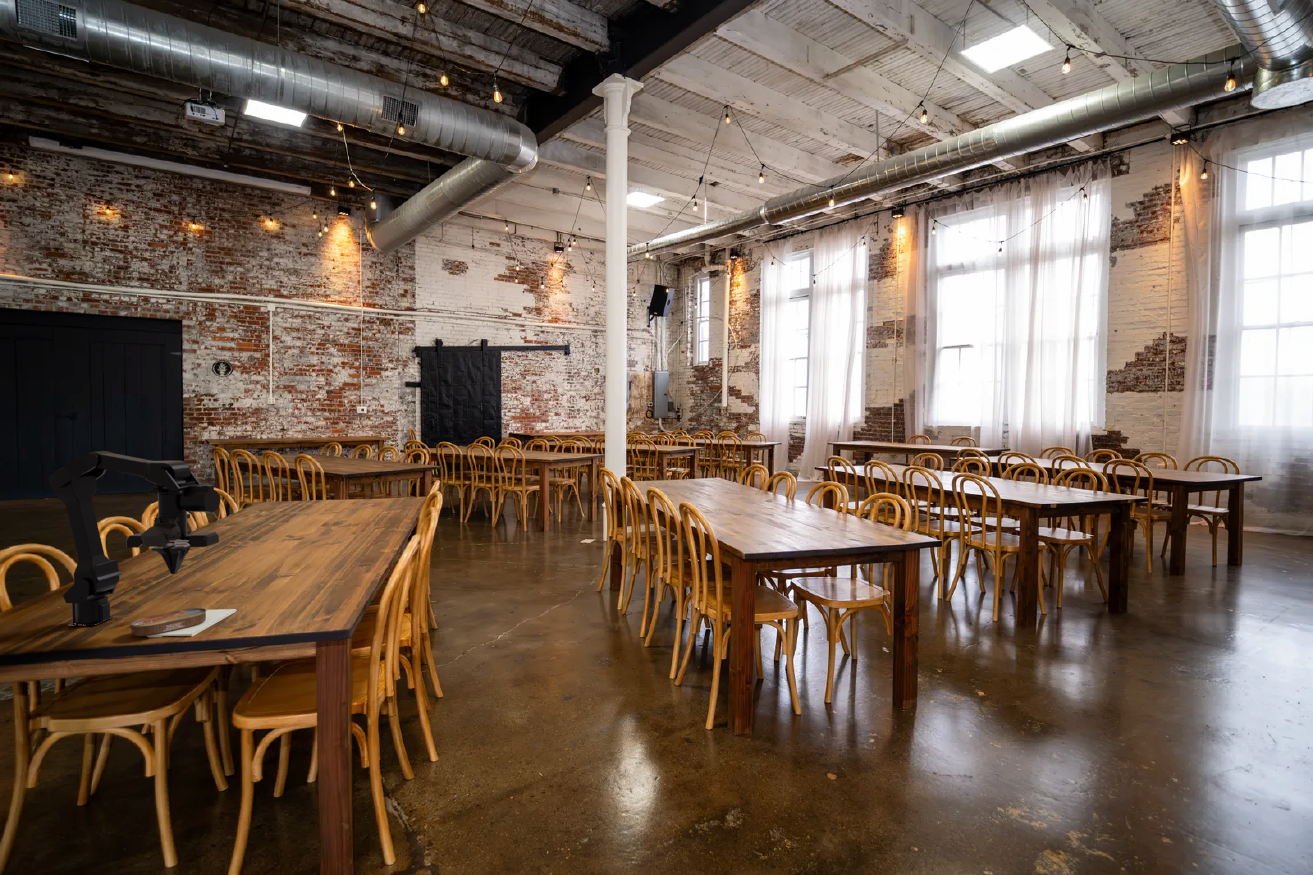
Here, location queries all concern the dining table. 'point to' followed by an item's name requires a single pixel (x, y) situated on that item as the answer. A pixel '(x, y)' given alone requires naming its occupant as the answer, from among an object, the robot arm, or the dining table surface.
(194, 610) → the brown oval food container
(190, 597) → the dining table surface
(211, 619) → the mat
